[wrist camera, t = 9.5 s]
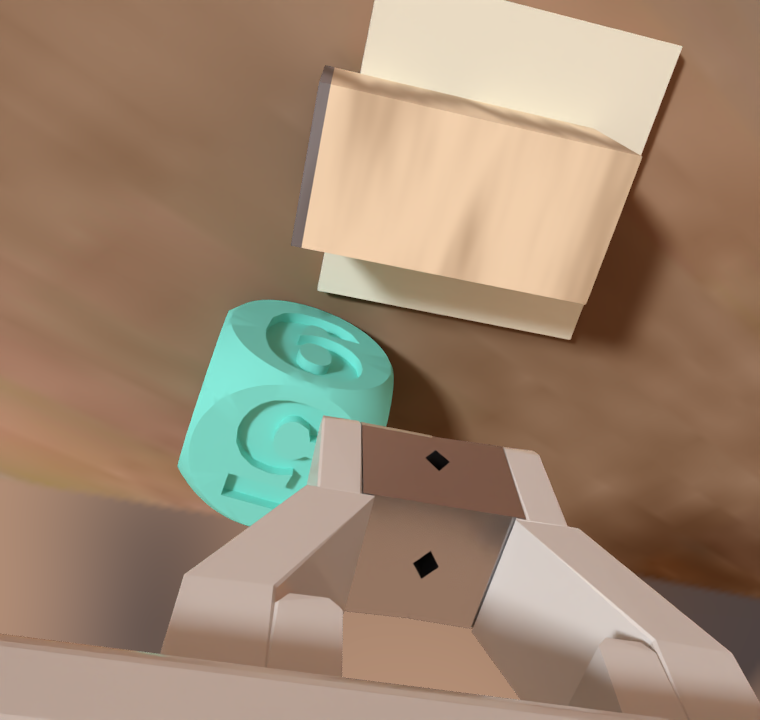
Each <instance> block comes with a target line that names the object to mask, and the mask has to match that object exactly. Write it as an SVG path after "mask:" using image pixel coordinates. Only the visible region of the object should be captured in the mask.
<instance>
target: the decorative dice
mask: <svg viewBox="0 0 760 720" xmlns="http://www.w3.org/2000/svg"><path fill="white" fill-rule="evenodd" d="M393 385H394V373H393V368H392V365H391V363H390V361H389V359H388V357H387V355H386V354H385V352H384V351H383V350H382V348H381V347H380V346H379V345H378V344H377V343H376V342H375V341H374V340H373V339H372V338H370V337H369V336H368V335H367V334H365V333H364V332H363V331H361V330H360V329H358V328H357V327H355V326H353V325H352V324H350V323H348V322H346V321H345V320H343V319H341V318H339V317H336V316H334V315H332V314H330V313H327V312H325V311H322V310H319V309H316V308H313V307H310V306H306V305H303V304H298V303H293V302H288V301H280V300H258V301H252V302H248V303H246V304H243V305H241V306H239V307H236V308H234V309H232V310H229V312H228V314H227V317H226V319H225V322H224V324H223V327H222V330H221V333H220V336H219V338H218V341H217V344H216V347H215V350H214V353H213V356H212V359H211V362H210V364H209V367H208V370H207V373H206V376H205V379H204V382H203V385H202V388H201V391H200V394H199V397H198V400H197V404H196V407H195V410H194V413H193V416H192V419H191V422H190V425H189V428H188V432H187V435H186V438H185V441H184V445H183V448H182V451H181V455H180V458H179V462H178V468H179V470H180V472H181V474H182V475H183V477H184V478H185V480H186V481H187V483H188V484H189V485H190V487H191V488H192V489H193V491H194V492H195V493H196V494H197V495H198V496H199V497H200V498H201V499H202V500H203V501H204V502H206V503H207V504H208V505H209V506H210V507H212V508H213V509H214V510H216V511H217V512H219V513H220V514H222V515H223V516H225V517H227V518H229V519H231V520H233V521H236V522H238V523H241V524H243V525H246V526H251V525H253V524H254V523H255V522H257V521H258V520H259V519H261V518H262V517H263V516H265V515H266V514H267V513H269V512H270V511H272V510H273V509H274V508H276V507H277V506H278V505H280V504H281V503H282V502H284V501H285V500H287V499H288V498H289V497H291V496H292V495H293V494H295V493H296V492H297V491H299V490H300V489H302V488H303V487H304V486H306V485H307V481H308V476H309V472H310V467H311V463H312V458H313V454H314V449H315V445H316V440H317V436H318V431H319V427H320V423H321V420H322V417H323V415H325V416H331V417H337V418H344V419H350V420H356V421H359V422H364V423H370V424H375V425H380V426H385V427H386V425H387V421H388V417H389V412H390V407H391V402H392V395H393Z"/></svg>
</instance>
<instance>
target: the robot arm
mask: <svg viewBox="0 0 760 720" xmlns="http://www.w3.org/2000/svg"><path fill="white" fill-rule="evenodd" d="M344 611H347V612H356V613H365V614H374V615H383V616H392V617H401V618H409V619H415V620H421V621H427V622H433V623H439V624H446V625H451V626H457V627H463V628H469V629H473V630H472V633H473V635H474V636H475V637H476V639H477V640H478V641H479V643H480V644H481V646H482V647H483V648H484V650H485V651H486V652H487V654H488V655H489V657H490V658H491V659H492V661H493V662H494V664H495V665H496V666H497V668H498V669H499V670H500V672H501V673H502V675H503V676H504V677H505V679H506V680H507V682H508V683H509V684H510V686H511V687H512V688H513V689H514V691H515V693H516V694H517V695H518V697H519V698H520V700H516V699H508V698H500V697H493V696H485V695H477V694H469V693H461V692H453V691H445V690H437V689H430V688H422V687H414V686H406V685H399V684H391V683H382V682H375V681H367V680H359V679H351V678H343V677H342V631H343V628H342V627H343V619H342V618H343V613H344ZM0 720H760V702H759V700H758V698H757V697H756V696H755V693H754V691H753V690H752V688H751V686H750V684H749V682H748V681H747V679H746V677H745V675H744V674H743V672H742V670H741V668H740V667H739V665H738V663H737V661H736V659H735V658H734V656H733V654H732V653H731V652H730V651H729V650H727V649H726V648H725V647H724V646H722V645H721V644H720V643H719V642H717V641H716V640H715V639H714V638H713V637H711V636H710V635H709V634H708V633H706V632H705V631H704V630H703V629H702V628H700V627H699V626H698V625H697V624H695V623H694V622H693V621H692V620H691V619H689V618H688V617H687V616H686V615H684V614H683V613H682V612H680V611H679V610H678V609H677V608H676V607H675V606H673V605H672V604H671V603H670V602H668V601H667V600H666V599H665V598H663V597H662V596H661V595H660V594H659V593H657V592H656V591H655V590H654V589H652V588H651V587H650V586H649V585H647V584H646V583H645V582H644V581H642V580H641V579H640V578H639V577H638V576H636V575H635V574H634V573H633V572H632V571H630V570H629V569H628V568H627V567H625V566H624V565H623V564H622V563H620V562H619V561H618V560H617V559H616V558H614V557H613V556H612V555H611V554H609V553H608V552H607V551H606V550H604V549H603V548H602V547H601V546H600V545H598V544H597V543H596V542H595V541H593V540H592V539H591V538H590V537H588V536H587V535H586V534H585V533H584V532H582V531H581V530H580V529H578V528H572V527H568V526H567V523H566V521H565V518H564V516H563V513H562V511H561V508H560V506H559V503H558V501H557V498H556V496H555V493H554V491H553V489H552V486H551V484H550V481H549V479H548V476H547V474H546V471H545V469H544V466H543V464H542V461H541V459H540V456H539V455H538V454H537V453H536V452H534V451H531V450H523V449H515V448H508V447H500V446H493V445H487V444H480V443H473V442H466V441H459V440H453V439H446V438H439V437H432V436H431V435H426V434H421V433H416V432H411V431H406V430H401V429H395V428H390V427H385V426H380V425H375V424H370V423H364V422H359V421H356V420H350V419H344V418H337V417H331V416H325V415H323V417H322V420H321V423H320V427H319V431H318V436H317V440H316V445H315V449H314V454H313V458H312V463H311V467H310V472H309V476H308V481H307V485H306V486H304V487H303V488H302V489H300V490H299V491H297V492H296V493H295V494H293V495H292V496H291V497H289V498H288V499H287V500H285V501H284V502H282V503H281V504H280V505H278V506H277V507H276V508H274V509H273V510H272V511H270V512H269V513H267V514H266V515H265V516H263V517H262V518H261V519H259V520H258V521H257V522H255V523H254V524H253V525H251V526H250V527H248V528H247V529H246V530H245V531H243V532H242V533H240V534H239V535H238V536H236V537H235V538H233V539H232V540H231V541H229V542H228V543H227V544H225V545H224V546H223V547H221V548H220V549H218V550H217V551H216V552H215V553H213V554H212V555H210V556H209V557H208V558H206V559H205V560H204V561H202V562H201V563H199V564H198V565H197V566H195V567H194V568H193V569H191V570H190V571H188V572H187V573H186V574H184V577H183V580H182V584H181V587H180V590H179V594H178V597H177V600H176V604H175V607H174V610H173V613H172V616H171V620H170V623H169V626H168V630H167V633H166V636H165V639H164V643H163V646H162V649H161V653H160V654H155V653H148V652H140V651H132V650H124V649H116V648H109V647H101V646H92V645H85V644H77V643H69V642H62V641H54V640H45V639H38V638H30V637H22V636H13V635H7V634H0Z"/></svg>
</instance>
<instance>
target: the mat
mask: <svg viewBox="0 0 760 720" xmlns="http://www.w3.org/2000/svg"><path fill="white" fill-rule="evenodd" d="M682 47H683V46H679V45H675V44H671V43H667V42H663V41H660V40H656V39H652V38H648V37H644V36H640V35H636V34H632V33H629V32H625V31H621V30H617V29H613V28H609V27H605V26H601V25H598V24H594V23H590V22H586V21H582V20H578V19H574V18H570V17H567V16H563V15H559V14H555V13H551V12H547V11H543V10H540V9H536V8H532V7H528V6H524V5H520V4H516V3H512V2H509V1H505V0H375V1H374V6H373V11H372V16H371V21H370V26H369V31H368V36H367V41H366V46H365V51H364V56H363V61H362V67H361V72H360V74H364V75H369V76H373V77H377V78H381V79H386V80H390V81H394V82H398V83H403V84H407V85H411V86H415V87H420V88H424V89H428V90H432V91H437V92H441V93H445V94H449V95H454V96H458V97H462V98H466V99H471V100H475V101H479V102H483V103H488V104H492V105H496V106H500V107H505V108H509V109H513V110H517V111H522V112H526V113H530V114H534V115H539V116H543V117H547V118H552V119H556V120H560V121H564V122H569V123H573V124H577V125H581V126H586V127H590V128H594V129H596V130H597V131H599V132H601V133H602V134H604V135H606V136H608V137H609V138H611V139H613V140H615V141H616V142H618V143H620V144H622V145H623V146H625V147H627V148H628V149H630V150H632V151H634V152H635V153H637V154H639V155H641V154H642V151H643V149H644V146H645V143H646V141H647V138H648V135H649V133H650V130H651V128H652V125H653V122H654V120H655V117H656V115H657V112H658V109H659V107H660V104H661V102H662V99H663V96H664V94H665V91H666V88H667V86H668V83H669V81H670V78H671V75H672V73H673V70H674V68H675V65H676V62H677V60H678V57H679V54H680V52H681V49H682ZM318 291H323V292H328V293H333V294H338V295H344V296H349V297H354V298H359V299H364V300H369V301H374V302H379V303H384V304H390V305H395V306H400V307H405V308H410V309H415V310H420V311H425V312H430V313H436V314H441V315H446V316H451V317H456V318H461V319H466V320H471V321H476V322H481V323H487V324H492V325H497V326H502V327H507V328H512V329H517V330H522V331H527V332H533V333H538V334H543V335H548V336H553V337H558V338H563V339H568V340H570V339H571V337H572V334H573V332H574V329H575V326H576V324H577V321H578V318H579V316H580V313H581V311H582V308H583V305H584V304H580V303H575V302H570V301H565V300H560V299H555V298H550V297H545V296H540V295H535V294H530V293H525V292H520V291H515V290H510V289H505V288H500V287H495V286H490V285H485V284H480V283H475V282H470V281H465V280H460V279H455V278H450V277H445V276H441V275H436V274H431V273H426V272H421V271H416V270H411V269H406V268H401V267H396V266H391V265H386V264H381V263H376V262H371V261H366V260H361V259H356V258H351V257H346V256H341V255H336V254H331V253H326V252H325V253H324V258H323V263H322V268H321V273H320V278H319V283H318Z"/></svg>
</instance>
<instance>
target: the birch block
mask: <svg viewBox="0 0 760 720" xmlns="http://www.w3.org/2000/svg"><path fill="white" fill-rule="evenodd" d="M641 159H642V156H641V155H639V154H637V153H635V152H634V151H632V150H630V149H628V148H627V147H625V146H623V145H622V144H620V143H618V142H616V141H615V140H613V139H611V138H609V137H608V136H606V135H604V134H602V133H601V132H599V131H597V130H596V129H594V128H590V127H586V126H581V125H577V124H573V123H569V122H564V121H560V120H556V119H552V118H547V117H543V116H539V115H534V114H530V113H526V112H522V111H517V110H513V109H509V108H505V107H500V106H496V105H492V104H488V103H483V102H479V101H475V100H471V99H466V98H462V97H458V96H454V95H449V94H445V93H441V92H437V91H432V90H428V89H424V88H420V87H415V86H411V85H407V84H403V83H398V82H394V81H390V80H386V79H381V78H377V77H373V76H369V75H364V74H360V73H356V72H352V71H347V70H343V69H339V68H335V67H330V66H326V65H325V67H324V70H323V73H322V76H321V78H320V81H319V87H318V92H317V98H316V104H315V110H314V115H313V121H312V127H311V133H310V139H309V144H308V150H307V156H306V162H305V167H304V173H303V179H302V185H301V191H300V196H299V202H298V208H297V214H296V220H295V225H294V231H293V237H292V243H291V246H296V247H301V248H306V249H311V250H316V251H321V252H326V253H331V254H336V255H341V256H346V257H351V258H356V259H361V260H366V261H371V262H376V263H381V264H386V265H391V266H396V267H401V268H406V269H411V270H416V271H421V272H426V273H431V274H436V275H441V276H445V277H450V278H455V279H460V280H465V281H470V282H475V283H480V284H485V285H490V286H495V287H500V288H505V289H510V290H515V291H520V292H525V293H530V294H535V295H540V296H545V297H550V298H555V299H560V300H565V301H570V302H575V303H580V304H585V305H586V303H587V301H588V298H589V295H590V293H591V290H592V288H593V285H594V282H595V280H596V277H597V274H598V272H599V269H600V267H601V264H602V261H603V259H604V256H605V254H606V251H607V248H608V246H609V243H610V240H611V238H612V235H613V233H614V230H615V227H616V225H617V222H618V219H619V217H620V214H621V212H622V209H623V206H624V204H625V201H626V198H627V196H628V193H629V191H630V188H631V185H632V183H633V180H634V177H635V175H636V172H637V170H638V167H639V164H640V162H641Z"/></svg>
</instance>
